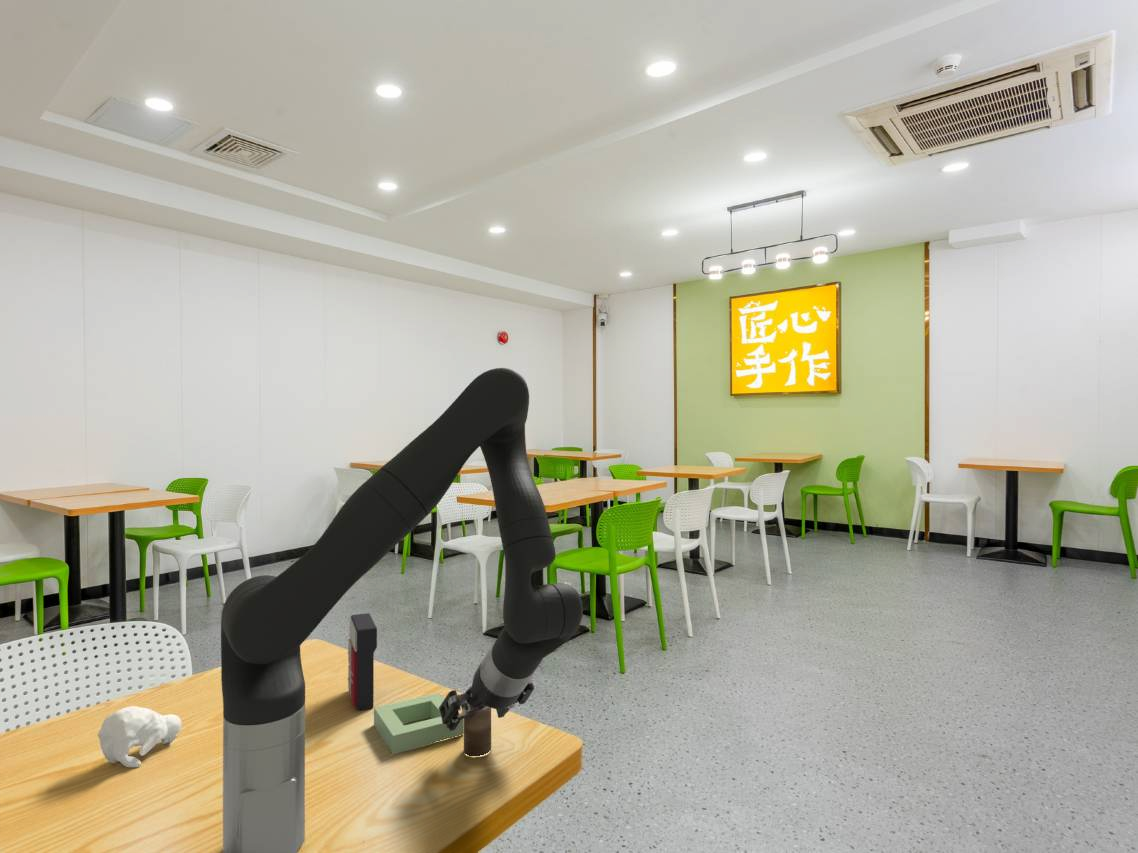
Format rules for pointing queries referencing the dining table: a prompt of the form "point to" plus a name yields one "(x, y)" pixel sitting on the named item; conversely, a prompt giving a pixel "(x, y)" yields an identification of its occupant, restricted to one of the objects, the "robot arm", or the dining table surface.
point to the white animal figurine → (135, 733)
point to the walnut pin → (477, 733)
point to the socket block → (415, 734)
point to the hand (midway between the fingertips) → (474, 718)
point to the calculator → (361, 660)
